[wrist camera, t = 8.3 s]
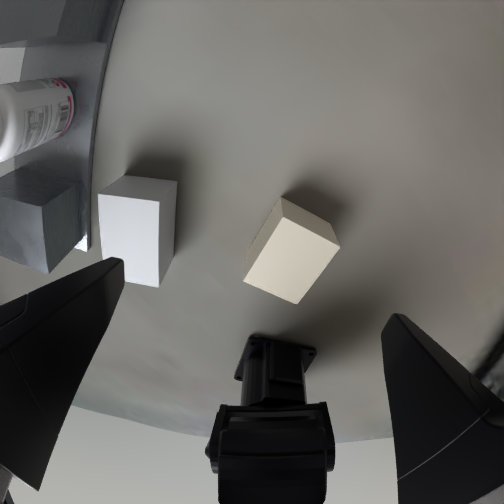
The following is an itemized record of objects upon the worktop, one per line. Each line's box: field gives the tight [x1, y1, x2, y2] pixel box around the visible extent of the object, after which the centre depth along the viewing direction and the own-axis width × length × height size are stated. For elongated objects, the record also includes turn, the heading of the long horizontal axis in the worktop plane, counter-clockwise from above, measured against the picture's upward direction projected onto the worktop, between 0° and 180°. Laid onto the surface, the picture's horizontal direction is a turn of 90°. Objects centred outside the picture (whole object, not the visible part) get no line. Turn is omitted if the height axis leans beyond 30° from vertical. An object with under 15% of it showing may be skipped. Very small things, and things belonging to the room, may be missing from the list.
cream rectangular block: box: [243, 197, 340, 304], centre depth 20 cm, size 5×4×4 cm
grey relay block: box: [98, 175, 177, 288], centre depth 19 cm, size 6×4×4 cm, turn 171°
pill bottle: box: [0, 78, 74, 162], centre depth 12 cm, size 5×5×8 cm
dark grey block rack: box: [0, 0, 124, 274], centre depth 14 cm, size 22×8×6 cm, turn 165°
